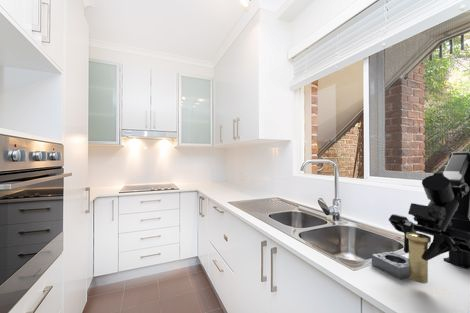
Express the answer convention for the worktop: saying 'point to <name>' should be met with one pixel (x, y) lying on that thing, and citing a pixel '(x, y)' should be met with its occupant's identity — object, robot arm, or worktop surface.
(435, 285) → the worktop surface
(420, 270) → the brass flanged cylinder
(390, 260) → the jig
